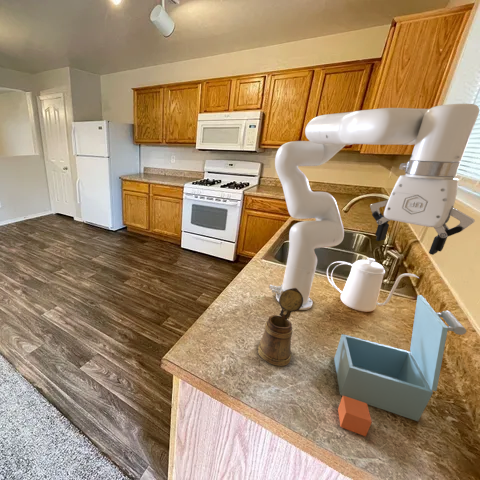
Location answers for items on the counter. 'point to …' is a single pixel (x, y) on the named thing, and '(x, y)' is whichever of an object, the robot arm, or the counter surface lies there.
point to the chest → (381, 377)
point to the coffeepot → (364, 285)
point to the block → (354, 415)
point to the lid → (431, 339)
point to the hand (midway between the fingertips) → (404, 246)
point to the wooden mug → (280, 330)
